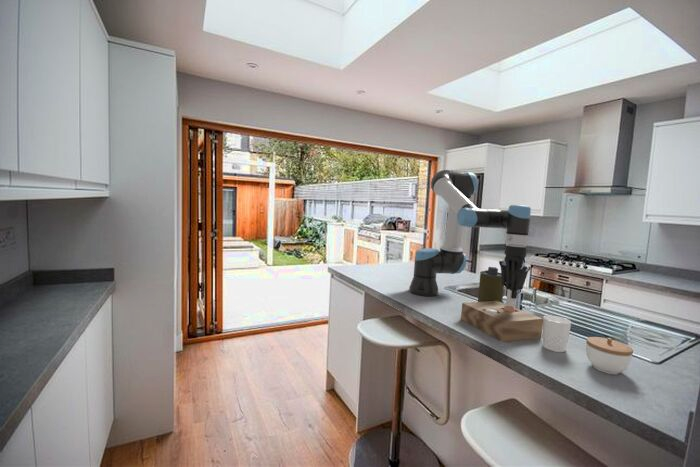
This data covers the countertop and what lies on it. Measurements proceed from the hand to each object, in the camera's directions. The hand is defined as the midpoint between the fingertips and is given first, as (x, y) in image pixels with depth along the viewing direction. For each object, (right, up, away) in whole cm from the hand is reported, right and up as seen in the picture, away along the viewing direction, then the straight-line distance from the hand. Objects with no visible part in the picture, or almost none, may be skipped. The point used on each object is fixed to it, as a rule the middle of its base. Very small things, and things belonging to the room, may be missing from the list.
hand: (510, 305), depth 126 cm
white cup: (+6, -11, -17) cm, 21 cm away
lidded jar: (+13, -12, -30) cm, 35 cm away
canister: (0, -7, +20) cm, 22 cm away
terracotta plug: (0, -6, +1) cm, 6 cm away
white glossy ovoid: (-9, -7, -2) cm, 12 cm away
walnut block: (-5, -8, -1) cm, 10 cm away
